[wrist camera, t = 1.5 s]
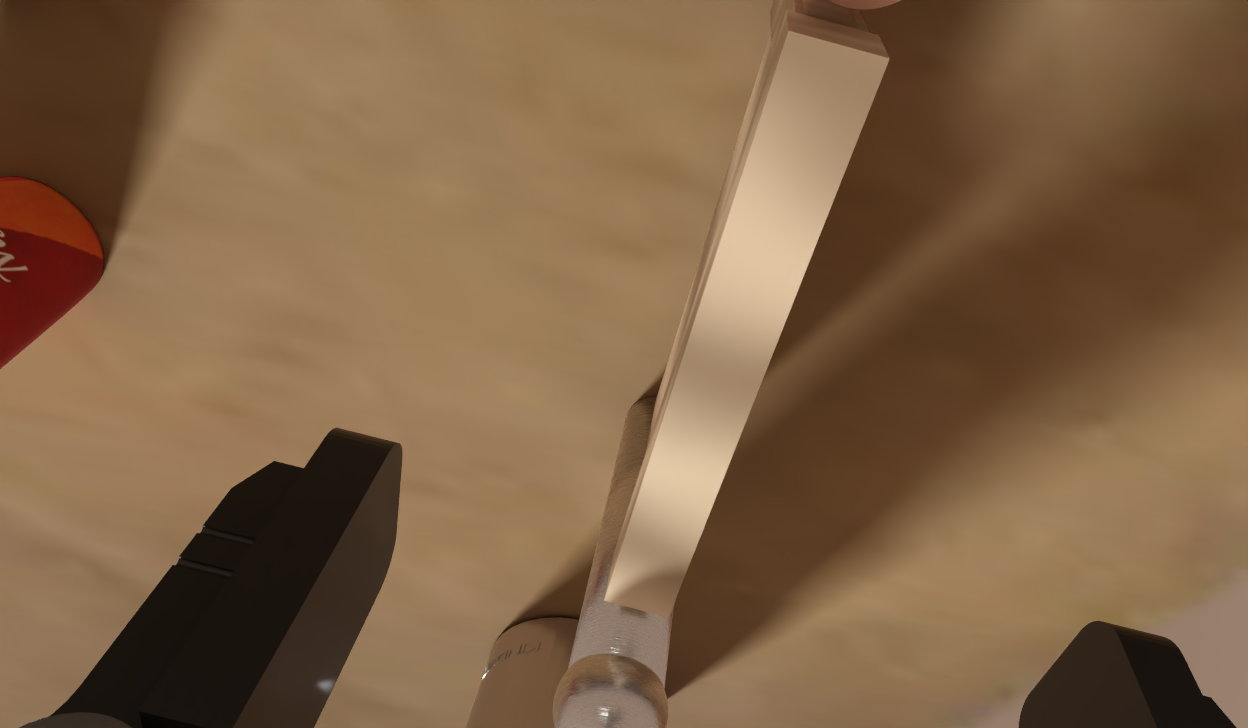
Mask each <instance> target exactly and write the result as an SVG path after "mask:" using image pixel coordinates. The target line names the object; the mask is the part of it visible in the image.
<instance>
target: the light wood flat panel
mask: <svg viewBox="0 0 1248 728" xmlns="http://www.w3.org/2000/svg"><path fill="white" fill-rule="evenodd" d="M889 60H890V58H889V56H888V54H887V51H886V49H885V47H884V45H883V43H882V41H881V39H880V37H879V35H876V34H873V33H869V31H868V28H867V26H866V24H865V22H864V19H863V17H862V15H861V13H860V10H859V9H852V8H847V7H844V6H840V5H837V4H835V3H833V2H831V1H829V0H774V2H773V5H772V8H771V33H770V37H769V40H768V43H767V46H766V49H765V53H764V56H763V59H762V62H761V65H760V69H759V72H758V75H757V78H756V81H755V85H754V88H753V91H752V94H751V97H750V101H749V104H748V107H747V110H746V113H745V117H744V120H743V123H742V126H741V129H740V133H739V136H738V139H737V142H736V145H735V149H734V152H733V155H732V158H731V161H730V165H729V168H728V171H727V174H726V177H725V181H724V184H723V187H722V190H721V193H720V197H719V200H718V203H717V206H716V209H715V213H714V216H713V219H712V222H711V225H710V229H709V232H708V235H707V238H706V241H705V245H704V248H703V251H702V254H701V257H700V261H699V264H698V267H697V270H696V273H695V277H694V280H693V283H692V286H691V289H690V293H689V296H688V299H687V302H686V305H685V309H684V312H683V315H682V318H681V321H680V325H679V328H678V331H677V334H676V337H675V341H674V344H673V347H672V350H671V353H670V357H669V360H668V363H667V366H666V369H665V373H664V376H663V379H662V382H661V385H660V389H659V392H658V395H657V398H656V401H655V407H654V412H653V417H652V422H651V428H650V433H649V438H648V443H647V449H646V454H645V457H644V460H643V463H642V466H641V469H640V472H639V476H638V479H637V482H636V485H635V488H634V491H633V494H632V498H631V501H630V504H629V507H628V510H627V513H626V516H625V520H624V523H623V526H622V529H621V532H620V535H619V538H618V542H617V545H616V548H615V551H614V555H613V560H612V565H611V570H610V575H609V579H608V584H607V589H606V594H605V599H604V601H608V602H612V603H615V604H619V605H623V606H627V607H630V608H634V609H638V610H641V611H645V612H649V613H653V614H656V615H660V616H664V617H668V618H669V615H670V613H671V610H672V608H673V605H674V602H675V600H676V597H677V595H678V592H679V590H680V587H681V585H682V582H683V580H684V577H685V575H686V572H687V570H688V567H689V565H690V562H691V560H692V557H693V555H694V552H695V549H696V547H697V544H698V542H699V539H700V537H701V534H702V532H703V529H704V527H705V524H706V522H707V519H708V517H709V514H710V512H711V509H712V507H713V504H714V501H715V499H716V496H717V494H718V491H719V489H720V486H721V484H722V481H723V479H724V476H725V474H726V471H727V469H728V466H729V464H730V461H731V459H732V456H733V453H734V451H735V448H736V446H737V443H738V441H739V438H740V436H741V433H742V431H743V428H744V426H745V423H746V421H747V418H748V416H749V413H750V411H751V408H752V406H753V403H754V400H755V398H756V395H757V393H758V390H759V388H760V385H761V383H762V380H763V378H764V375H765V373H766V370H767V368H768V365H769V363H770V360H771V358H772V355H773V352H774V350H775V347H776V345H777V342H778V340H779V337H780V335H781V332H782V330H783V327H784V325H785V322H786V320H787V317H788V315H789V312H790V310H791V307H792V304H793V302H794V299H795V297H796V294H797V292H798V289H799V287H800V284H801V282H802V279H803V277H804V274H805V272H806V269H807V267H808V264H809V262H810V259H811V257H812V254H813V251H814V249H815V246H816V244H817V241H818V239H819V236H820V234H821V231H822V229H823V226H824V224H825V221H826V219H827V216H828V214H829V211H830V209H831V206H832V203H833V201H834V198H835V196H836V193H837V191H838V188H839V186H840V183H841V181H842V178H843V176H844V173H845V171H846V168H847V166H848V163H849V161H850V158H851V155H852V153H853V150H854V148H855V145H856V143H857V140H858V138H859V135H860V133H861V130H862V128H863V125H864V123H865V120H866V118H867V115H868V113H869V110H870V107H871V105H872V102H873V100H874V97H875V95H876V92H877V90H878V87H879V85H880V82H881V80H882V77H883V75H884V72H885V70H886V67H887V65H888V62H889Z"/></svg>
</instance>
